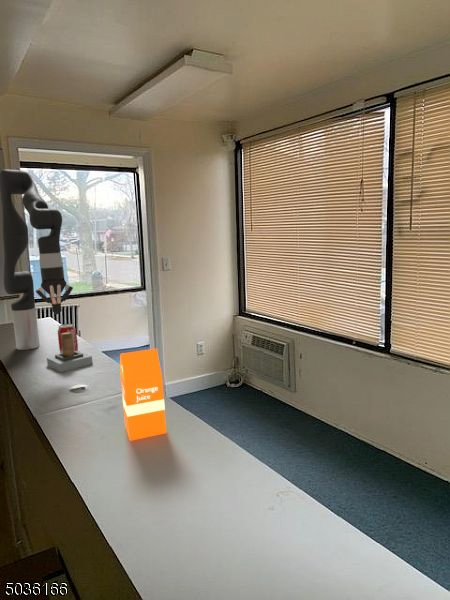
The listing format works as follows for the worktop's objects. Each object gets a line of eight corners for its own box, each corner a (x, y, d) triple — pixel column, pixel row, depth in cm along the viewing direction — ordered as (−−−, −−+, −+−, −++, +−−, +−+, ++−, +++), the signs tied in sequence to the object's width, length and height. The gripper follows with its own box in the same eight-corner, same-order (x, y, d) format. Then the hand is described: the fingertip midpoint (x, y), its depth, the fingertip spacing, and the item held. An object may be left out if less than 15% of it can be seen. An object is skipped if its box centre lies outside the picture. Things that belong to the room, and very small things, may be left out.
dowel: (62, 365, 160) (58, 333, 158) (72, 362, 163) (69, 331, 161) (66, 367, 157) (63, 335, 155) (77, 364, 160) (73, 333, 158)
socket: (47, 365, 160) (46, 355, 160) (78, 357, 168) (77, 348, 168) (61, 372, 152) (59, 361, 151) (92, 363, 160) (91, 353, 159)
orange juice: (125, 427, 107) (117, 349, 103) (160, 420, 110) (154, 344, 106) (129, 441, 99) (122, 358, 96) (167, 433, 102) (160, 352, 99)
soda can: (66, 357, 169) (63, 328, 167) (56, 355, 173) (53, 326, 171) (82, 353, 175) (79, 324, 173) (72, 350, 179) (69, 322, 177)
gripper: (68, 263, 159) (73, 309, 162) (29, 267, 152) (36, 315, 155) (73, 264, 153) (78, 312, 156) (33, 268, 146) (39, 318, 149)
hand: (57, 313), depth 155 cm, fingers closed
